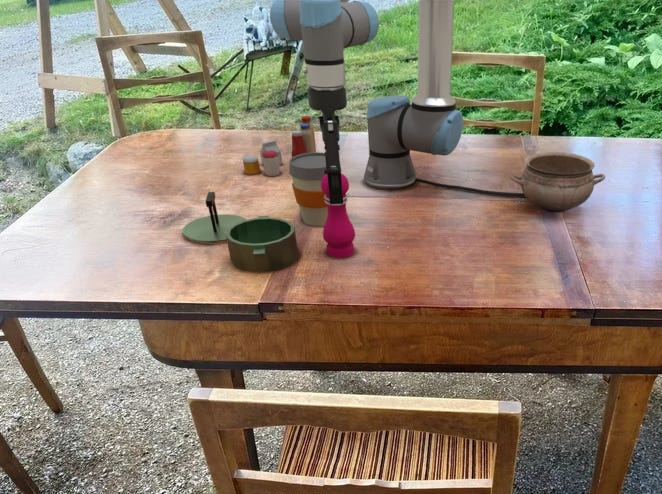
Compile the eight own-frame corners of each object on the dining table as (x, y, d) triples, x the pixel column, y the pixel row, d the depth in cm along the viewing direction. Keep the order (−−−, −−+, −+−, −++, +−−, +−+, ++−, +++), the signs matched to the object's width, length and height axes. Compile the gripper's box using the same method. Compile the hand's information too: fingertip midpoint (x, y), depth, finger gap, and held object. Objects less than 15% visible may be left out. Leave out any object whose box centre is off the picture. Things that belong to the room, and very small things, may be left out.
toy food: (310, 151, 198) (306, 113, 191) (334, 161, 191) (330, 121, 184) (238, 170, 183) (230, 129, 176) (261, 181, 176) (254, 139, 169)
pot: (297, 236, 146) (294, 211, 142) (297, 275, 130) (294, 247, 126) (235, 240, 143) (230, 214, 140) (227, 280, 127) (221, 252, 124)
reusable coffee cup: (286, 224, 151) (277, 164, 142) (310, 206, 161) (304, 149, 152) (330, 232, 148) (325, 171, 139) (353, 213, 157) (349, 155, 149)
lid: (252, 217, 155) (246, 183, 149) (248, 243, 142) (241, 207, 137) (188, 220, 152) (180, 186, 147) (179, 247, 140) (169, 211, 135)
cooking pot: (513, 223, 154) (518, 175, 146) (502, 195, 169) (505, 151, 162) (609, 221, 155) (619, 174, 148) (589, 194, 170) (597, 150, 163)
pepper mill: (331, 261, 135) (322, 173, 123) (320, 248, 140) (311, 163, 128) (361, 255, 138) (355, 168, 126) (349, 243, 143) (343, 158, 131)
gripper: (306, 74, 127) (316, 173, 140) (307, 101, 108) (319, 214, 120) (342, 73, 129) (348, 172, 141) (350, 100, 109) (356, 212, 121)
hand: (335, 192), depth 130 cm, fingers open, 13 cm apart
